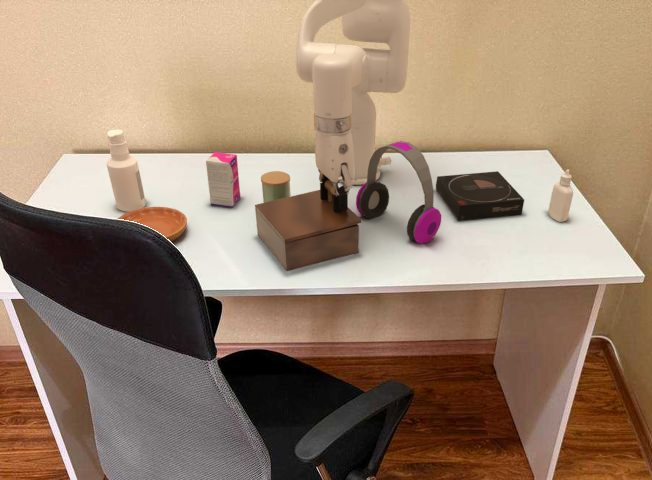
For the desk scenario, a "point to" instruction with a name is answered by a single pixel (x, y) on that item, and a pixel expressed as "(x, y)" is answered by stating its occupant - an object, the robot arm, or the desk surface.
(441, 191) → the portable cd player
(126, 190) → the spray bottle
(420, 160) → the headphones
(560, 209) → the eye dropper bottle
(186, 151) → the desk surface
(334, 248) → the chest
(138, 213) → the saucer
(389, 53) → the robot arm
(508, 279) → the desk surface
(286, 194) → the canister
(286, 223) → the lid
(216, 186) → the supplement box
